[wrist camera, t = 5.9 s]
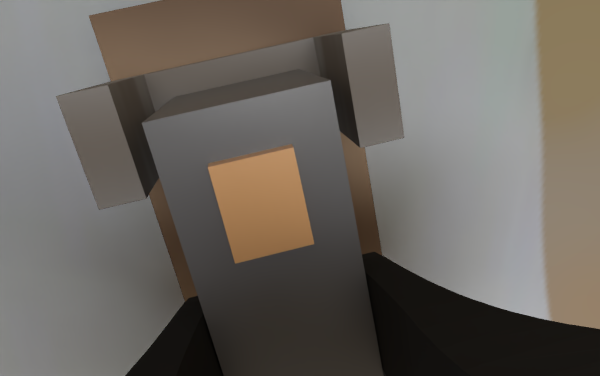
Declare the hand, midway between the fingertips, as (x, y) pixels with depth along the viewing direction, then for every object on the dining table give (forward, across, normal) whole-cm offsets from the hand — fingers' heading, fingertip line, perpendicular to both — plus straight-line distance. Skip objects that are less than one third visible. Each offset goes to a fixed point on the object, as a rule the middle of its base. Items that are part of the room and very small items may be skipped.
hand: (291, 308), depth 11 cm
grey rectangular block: (+3, 0, 0) cm, 3 cm away
